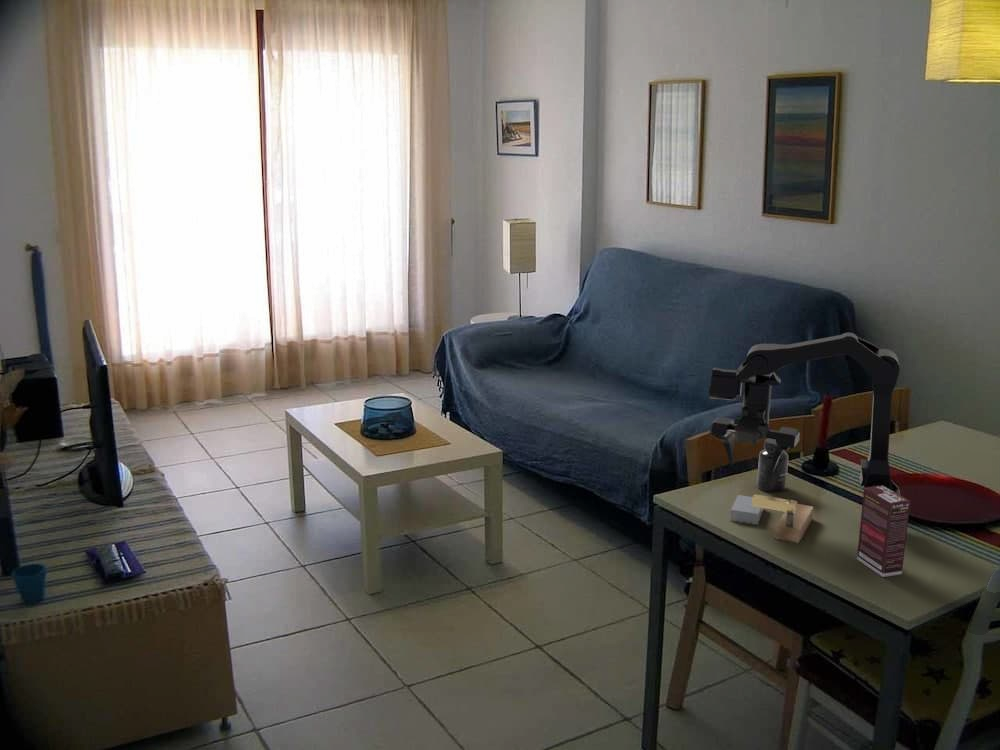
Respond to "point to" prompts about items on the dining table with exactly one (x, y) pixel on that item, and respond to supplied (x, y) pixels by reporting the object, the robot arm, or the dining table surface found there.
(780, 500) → the tan rectangular bar
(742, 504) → the cover
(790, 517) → the key box
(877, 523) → the supplement box
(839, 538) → the dining table surface
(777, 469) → the supplement bottle
